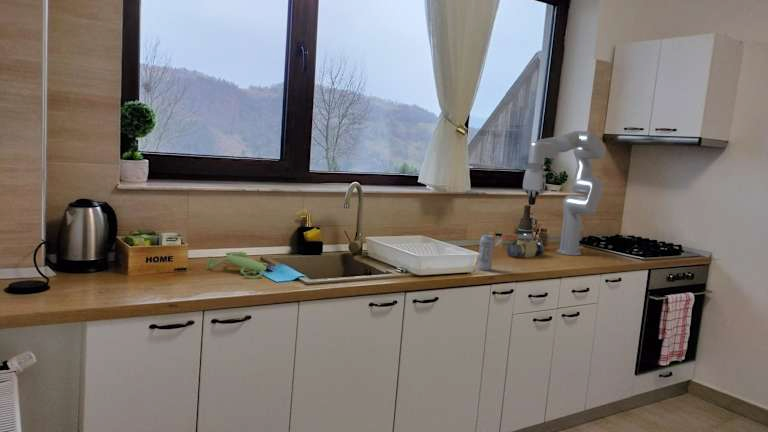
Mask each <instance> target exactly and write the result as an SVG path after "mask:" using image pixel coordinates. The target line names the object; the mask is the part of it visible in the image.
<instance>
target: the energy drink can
mask: <svg viewBox="0 0 768 432" xmlns="http://www.w3.org/2000/svg"><path fill="white" fill-rule="evenodd" d="M479 240H480V241H479V248H478V259H477V268H478V270H480V271H488V272H489V271H491V269H492V266H493V255H494V245H495V244H494V243H495V239H494V236H493V235H490V234H489V235H488V234H482V235H481V238H480V239H479ZM479 254H480V255H479Z"/></svg>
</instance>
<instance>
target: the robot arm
mask: <svg viewBox="0 0 768 432" xmlns="http://www.w3.org/2000/svg"><path fill="white" fill-rule="evenodd" d="M570 151H573V155H574V158H575V160H576V170H575V173H574V176H573V179H572V183H571V190H572V192H573V193H574V194H569V195H566V196H565V197H564V198H563V201H562V211H563V214H562V215H563V218H562V226H561V227H562V228H561V236H560V244H559V248H558V249H556V253H557V254H562V255H567V256H581V255H582V253H581V251H580V250H584V246H583V245H581V246H580V239H581V231H582V230H581V229H582V218H581V216H580V215H583V216H584V215H585V216H591V215H594V214H595V212H596V210H597V208H598V205H599V202H600V200H601V199H600V198H601V195H602V192H603V189H604V187H603V182H602V180H601V178H598V177H595V176H594V177H593V172H594V165H593V163H592V162H591V161H592V160H602V159H603V158H604V157H605V156H606V153H607V148H606V146H605V144H604V143H603V142H602V140H601V139H600V138H599V137H598V136H597V135H596V134H595V133H594V132H592V131H585V130H584V131H583V130H575V131H571V132H568V133H565V134H563V135H557V136H553V137H546V138H542V139H538V140H536V141H532V142H530V145H529V151H528V153H529V154H528V162H527V169H526V170H525V173H524V175H523V181H522V192H523V193H526V194H527V197H528V201H527V202H528V205H530V206H535V204H536V200H537V197H538V196H539V195H544V193H545V192H544V191H545V190H546V171H545V170H546V169H547V166H546V165H545V158H547V159H553V158H556V157H557V156H558V155H559V154H560V153H567V152H570ZM575 193H576V194H575ZM577 194H581V195H577ZM586 195H587V196H586Z"/></svg>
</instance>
